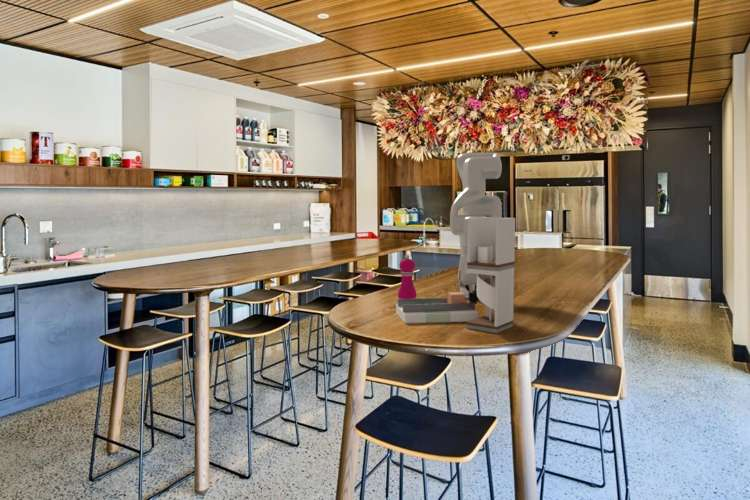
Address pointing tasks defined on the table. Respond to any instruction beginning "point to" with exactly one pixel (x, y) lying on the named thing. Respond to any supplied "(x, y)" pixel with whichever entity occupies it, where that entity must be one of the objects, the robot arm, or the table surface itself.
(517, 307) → the table surface
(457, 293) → the terracotta block
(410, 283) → the pepper mill
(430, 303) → the channel walls
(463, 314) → the channel deck
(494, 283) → the display case
